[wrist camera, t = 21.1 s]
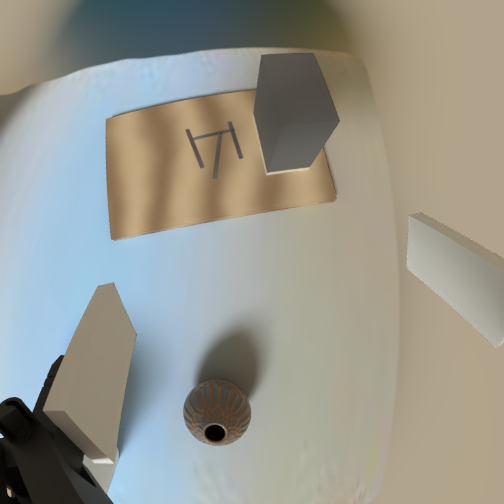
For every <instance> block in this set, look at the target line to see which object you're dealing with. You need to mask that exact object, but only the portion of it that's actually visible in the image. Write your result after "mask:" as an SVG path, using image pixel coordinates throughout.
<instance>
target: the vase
mask: <svg viewBox="0 0 504 504" xmlns="http://www.w3.org/2000/svg"><path fill="white" fill-rule="evenodd" d="M183 415H184V420H185V423H186V426H187V428H188V430H189V431H190V432H191V434H192V435H193V436H194V437H195V438H197V439H198V440H199V441H201V442H203V443H206V444H209V445H214V446H222V445H227V444H230V443H232V442H234V441H236V440H237V439H239V438H240V437H241V436H242V435H243V434H244V433H245V431H246V430H247V428H248V426H249V423H250V419H251V408H250V404H249V401H248V398H247V396H246V395H245V393H244V392H243V391H242V390H241V389H240V388H239V387H238V386H236V385H235V384H233V383H231V382H229V381H226V380H220V379H213V380H207V381H204V382H202V383H200V384H198V385H197V386H196V387H194V388H193V389H192V390H191V392H190V393H189V395H188V396H187V398H186V400H185V404H184V409H183Z"/></svg>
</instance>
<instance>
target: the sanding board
mask: <svg viewBox="0 0 504 504" xmlns="http://www.w3.org/2000/svg"><path fill="white" fill-rule="evenodd" d="M255 97H256V90H250V91H241V92H233V93H226V94H219V95H212V96H206V97H200V98H194V99H189V100H183V101H178V102H173V103H168V104H164V105H159V106H155V107H150V108H146V109H142V110H138V111H134V112H130V113H126V114H122V115H119V116H115V117H112V118H108V119H106V177H107V196H108V210H109V222H110V233H111V239H112V240H114V241H116V240H121V239H126V238H131V237H135V236H140V235H145V234H150V233H155V232H160V231H165V230H170V229H175V228H180V227H186V226H191V225H196V224H201V223H207V222H212V221H218V220H223V219H229V218H235V217H240V216H246V215H252V214H258V213H264V212H270V211H276V210H282V209H288V208H294V207H301V206H307V205H314V204H320V203H327V202H334V201H335V200H336V199H337V198H336V194H335V190H334V186H333V182H332V178H331V175H330V171H329V167H328V164H327V160H326V157H325V153H324V150H323V148H322V149H321V151H320V153H319V154H318V156H317V157H316V159H315V160H314V162H313V163H312V165H311V166H310V168H309V169H308V170H302V171H295V172H287V173H280V174H272V175H266V172H265V168H264V163H263V159H262V154H261V150H260V146H259V141H258V137H257V132H256V128H255V124H254V120H253V111H254V104H255Z"/></svg>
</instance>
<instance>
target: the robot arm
mask: <svg viewBox="0 0 504 504" xmlns="http://www.w3.org/2000/svg"><path fill="white" fill-rule="evenodd" d="M407 269H408V270H410V271H411V272H412V273H413V274H414V275H416V276H417V277H418V278H419V279H421V280H422V281H423V282H424V283H425V284H426V285H428V286H429V287H430V288H431V289H432V290H433V291H435V292H436V293H437V294H438V295H439V296H440V297H442V298H443V299H444V300H445V301H446V302H447V303H448V304H450V305H451V306H452V307H453V308H454V309H455V310H456V311H458V312H459V313H460V314H461V315H462V316H463V317H464V318H465V319H466V320H467V321H468V322H470V323H471V324H472V325H473V326H474V327H475V328H476V329H477V330H478V331H479V332H480V333H481V334H482V335H483V336H485V337H486V338H487V339H488V340H489V341H490V342H491V343H492V344H493V345H494V346H495V347H496V348H497V347H499V346H500V345H502V344H503V343H504V259H503V258H501V257H500V256H498V255H497V254H495V253H493V252H491V251H490V250H488V249H486V248H484V247H483V246H481V245H480V244H478V243H476V242H474V241H473V240H471V239H469V238H468V237H466V236H464V235H462V234H460V233H459V232H457V231H455V230H453V229H451V228H450V227H448V226H446V225H444V224H442V223H440V222H438V221H437V220H435V219H433V218H431V217H429V216H427V215H425V214H423V213H416V214H412V215H409V229H408V252H407ZM136 335H137V334H136V332H135V330H134V328H133V326H132V324H131V321H130V319H129V317H128V315H127V313H126V310H125V308H124V306H123V303H122V301H121V299H120V296H119V294H118V292H117V289H116V287H115V284H114V282H113V283H109V284H105V285H100V286H98V287H97V289H96V291H95V293H94V295H93V297H92V299H91V300H90V302H89V304H88V306H87V308H86V310H85V312H84V314H83V317H82V319H81V321H80V323H79V325H78V327H77V329H76V331H75V333H74V335H73V338H72V340H71V342H70V344H69V346H68V349H67V351H66V353H65V355H60V356H59V358H58V359H57V360H56V361H55V362H54V363H53V365H52V366H51V368H50V371H49V373H48V375H47V378H46V380H45V382H44V387H42V390H41V392H40V394H39V397H38V400H37V402H36V405H35V407H34V410H33V413H32V412H31V411H30V409H29V408H28V407H27V406H26V405H25V404H24V402H23V401H22V400H21V399H19V398H17V397H12V398H8V399H6V400H4V401H3V402H2V403H1V404H0V433H1V434H2V435H3V436H4V438H0V504H113V502H112V501H111V500H110V498H109V497H108V496H107V494H106V493H105V492H104V490H103V489H102V488H101V486H100V485H99V483H98V482H97V481H96V479H95V478H94V476H93V475H92V473H91V472H90V470H89V469H88V468H87V467H86V466H85V465H84V464H83V459H84V454H85V455H86V456H87V457H88V458H89V459H90V460H91V461H92V462H94V463H108V464H115V456H116V448H117V441H118V433H119V426H120V420H121V413H122V407H123V401H124V395H125V390H126V384H127V379H128V374H129V369H130V364H131V359H132V354H133V349H134V344H135V340H136ZM7 488H8V489H9V490H11V497H9V496H8V494H7Z"/></svg>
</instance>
